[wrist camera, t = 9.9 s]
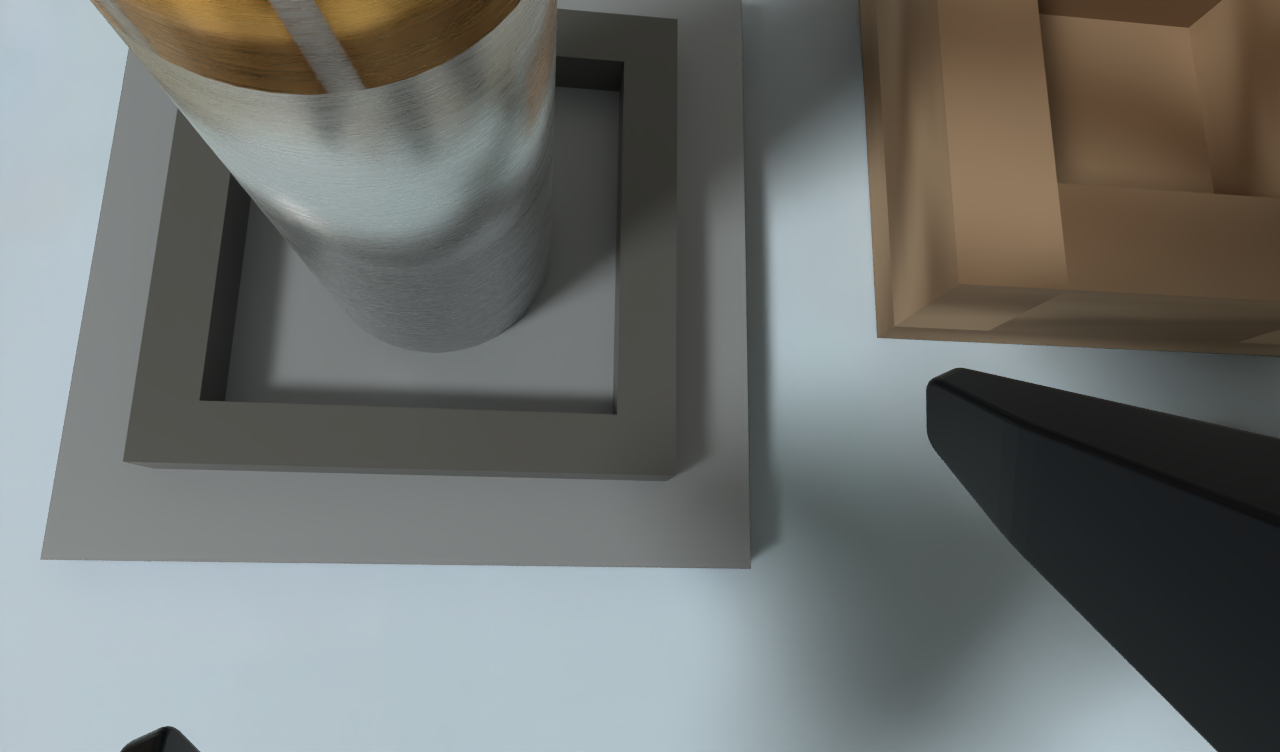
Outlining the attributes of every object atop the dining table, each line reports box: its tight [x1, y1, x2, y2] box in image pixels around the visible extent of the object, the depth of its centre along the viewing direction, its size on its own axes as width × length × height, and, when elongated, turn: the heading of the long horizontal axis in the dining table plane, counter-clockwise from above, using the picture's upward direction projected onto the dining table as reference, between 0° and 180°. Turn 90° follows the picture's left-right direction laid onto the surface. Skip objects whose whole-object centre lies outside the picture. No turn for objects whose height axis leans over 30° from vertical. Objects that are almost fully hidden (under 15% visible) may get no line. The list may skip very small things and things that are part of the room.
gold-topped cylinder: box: [90, 0, 557, 353], centre depth 12 cm, size 5×5×12 cm
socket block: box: [859, 0, 1280, 356], centre depth 20 cm, size 11×11×4 cm
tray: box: [40, 0, 751, 569], centre depth 18 cm, size 14×14×2 cm
